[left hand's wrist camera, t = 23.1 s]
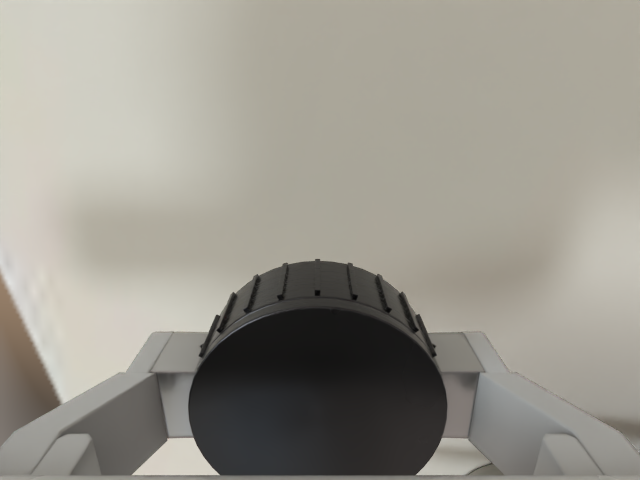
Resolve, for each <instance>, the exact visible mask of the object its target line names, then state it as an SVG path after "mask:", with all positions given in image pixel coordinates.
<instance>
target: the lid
mask: <svg viewBox="0 0 640 480" xmlns="http://www.w3.org/2000/svg"><path fill="white" fill-rule="evenodd" d="M435 356H437V354H436V351H435V349H434V347H433V344H432V342H431V340H430V337H429V335H428V333H427V330H426V328H425V326H424V323H423V321H422V319H421V316H420V314H418V315H416V314H415V312H414V311H413V309H412V308H411V306H410V305H409V303H408V300H407V298H406V295H405V294H404V293H403V292H401V293H399V292H398V291H397V290H396V289H395V288H394V287H392V286H391V285H390V284H389V283H388V282H386V281H384V280H383V278H382V276H381V275H379V274H378V275H377V276H376V275H374V274H372V273H370V272H368V271H366V270H363V269H361V268H358V267H354V266H353V264H352V263H348V264H342V263H337V262H328V261H320V259H315V261H308V262H299V263H294V264H288V263H284V264H283V266H282V267H279V268H275V269H273V270H270V271H268V272H266V273H264V274H262V275H260V276H258V274H257V275H255V276H254V277H253V280H252V281H250V282H249V283H247V284H246V285H245V286H244V287H242V288H241V289H240V290H239V291H238V292H237V293H236V294H235V293H234V292H233V293H232V294H231V295H230V297H229V300H228V302H227V305H226V306H225V308H224V309H223V311H222V312H221V314H220V316H219V315H216V317H215V319H214V321H213V323H212V326H211V328H210V330H209V333H208V335H207V337H206V339H205V342H204V344H203V346H202V349H201V351H200V353H199V357H201V358H202V359H201V361H200V364H199V366H198V368H197V371H196V373H195V375H194V378H193V381H192V385H191V388H190V392H189V401H188V414H189V422H190V426H191V431H192V434H193V437H194V439H195V441H196V444H197V446H198V448H199V449H200V451H201V453H202V454H203V456H204V458H205V459H206V460H207V461H208V463H209V464H210V465H211V466H212V468H214V469H215V470H216V471H217V472H218V473H219V474H220V475H416V474H417V473H418V472H419V471H420V470H421V469H422V468H423V467H424V466H425V465H426V463H427V462H428V461H429V460H430V458H431V457H432V456H433V454H434V452H435V450H436V449H437V447H438V445H439V443H440V441H441V438H442V436H443V433H444V429H445V425H446V420H447V407H448V403H447V395H446V389H445V386H444V382H443V379H442V376H441V374H440V371H439V369H438V367H437V364H436V362H435V359H434V357H435Z"/></svg>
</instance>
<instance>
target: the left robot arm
mask: <svg viewBox="0 0 640 480" xmlns="http://www.w3.org/2000/svg"><path fill="white" fill-rule="evenodd" d="M208 333H209V332H173V331H170V332H154V333H152V334H151V335H150V337H149V338H148V340H147V341H146V343H145V344H144V346H143V347H142V349H141V350H140V352H139V353H138V355H137V356H136V358H135V359H134V361H133V362H132V364H131V365H130V367H129V368H128V370H127V371H126V373H118V374H116V375H114V376H112V377H110V378H109V379H107V380H105V381H103V382H102V383H100V384H98V385H96V386H94V387H93V388H91V389H89V390H87V391H86V392H84V393H82V394H80V395H78V396H77V397H75V398H73V399H71V400H70V401H68V402H66V403H64V404H62V405H61V406H59V407H57V408H55V409H54V410H52V411H50V412H48V413H46V414H45V415H43V416H41V417H39V418H38V419H36V420H34V421H32V422H31V423H29V424H27V425H25V426H23V427H22V428H20V429H18V430H16V431H15V432H13V433H12V435H11V436H10V437H9V438H8V439H7V440H6V441H5V443H4V444H3V445H2V446H1V447H0V480H640V454H639V452H638V451H637V450H636V449H635V448H634V447H633V445H632V444H631V443H630V442H629V441H628V439H627V438H626V437H625V436H624V435H623V434H622V432H620V431H618V430H616V429H615V428H613V427H611V426H609V425H608V424H606V423H604V422H602V421H601V420H599V419H597V418H595V417H594V416H592V415H590V414H588V413H586V412H585V411H583V410H581V409H579V408H578V407H576V406H574V405H572V404H571V403H569V402H567V401H565V400H564V399H562V398H560V397H558V396H557V395H555V394H553V393H551V392H550V391H548V390H546V389H544V388H543V387H541V386H539V385H537V384H536V383H534V382H532V381H530V380H529V379H527V378H525V377H523V376H522V375H520V374H518V373H510V372H509V370H508V369H507V367H506V365H505V364H504V362H503V361H502V359H501V358H500V356H499V355H498V353H497V352H496V350H495V349H494V347H493V346H492V344H491V343H490V341H489V340H488V338H487V337H486V335H485V334H484V333H483V332H481V331H474V332H448V333H428V335H429V337H430V340H431V342H432V344H433V347H434V349H435V351H436V354H437V356H435V357H434V359H435V362H436V364H437V367H438V369H439V371H440V374H441V376H442V379H443V382H444V386H445V389H446V395H447V403H448V407H447V420H446V425H445V429H444V433H443V436H442V438H469V439H468V440H469V441H470V442H471V443H472V444H473V445H474V446H475V447H476V448H477V449H478V450H479V451H480V452H481V453H482V454H483V455H484V456H485V457H486V458H487V459H488V460H490V461H491V462H492V463H493V464H494V465H495V466H496V467H497V468H498V469H499V470H500V471H501V472H502V473H503V474H504V475H132V474H133V473H134V472H135V471H136V470H137V469H138V468H139V467H140V466H141V465H142V464H143V463H144V462H145V461H146V460H147V459H148V458H150V457H151V456H152V455H153V454H154V453H155V452H156V451H157V450H158V449H159V448H160V447H161V446H162V445H163V444H164V443H165V442H166V441H167V438H194V437H193V434H192V431H191V426H190V422H189V414H188V401H189V392H190V388H191V385H192V381H193V378H194V375H195V373H196V371H197V368H198V366H199V364H200V361H201V359H202V358H201V357H199V353H200V351H201V349H202V346H203V344H204V342H205V339H206V337H207V335H208Z"/></svg>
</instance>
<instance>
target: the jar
mask: <svg viewBox="0 0 640 480" xmlns="http://www.w3.org/2000/svg"><path fill="white" fill-rule="evenodd" d="M469 475H504V474H503V473H502V472H501V471H500V470H499V469H498V468H497V467H496V466H495V465H494V464H490V465H487V466H484V467H481V468H479V469H477V470H475V471H473V472H472V473H470V474H469Z"/></svg>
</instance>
